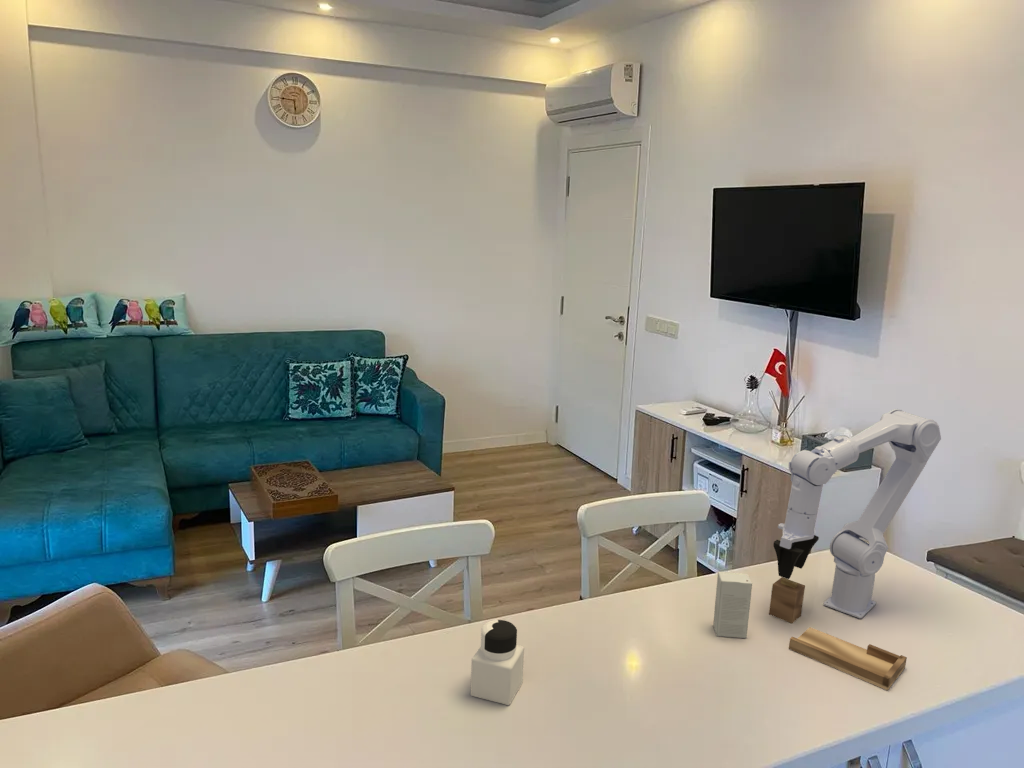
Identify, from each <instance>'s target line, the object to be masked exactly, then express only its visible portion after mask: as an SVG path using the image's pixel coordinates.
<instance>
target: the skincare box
mask: <svg viewBox="0 0 1024 768" xmlns="http://www.w3.org/2000/svg"><path fill="white" fill-rule="evenodd" d="M715 589H716V591H715V601H714V613H713V623H712V624H713V625H712V626H713V629H714V633H715V636H716V637H724V638H725V637H726V638H739V639H747V636H748V627H749V626H748V625H749V618H750V607H751V597H752V589H753V582H752V580H751V578H750V576H749V574H748V573H741V572H739V573H737V572H728V571H727V572H726V571H725V572H724V571H718V572H717V580H716V588H715Z"/></svg>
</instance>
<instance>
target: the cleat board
mask: <svg viewBox="0 0 1024 768" xmlns="http://www.w3.org/2000/svg"><path fill="white" fill-rule="evenodd" d="M788 650H791V651H793V652H795V653H798V654H800V655H802V656H805V657H807V658H809V659H812V660H814V661H817V662H820V663H821V664H824V665H826V666H828V667H831V668H833V669H836V670H837V671H838V670H839V671H841V672H842V673H845V674H848V675H850V676H852V677H855V678H857V679H860V680H862V681H864V682H867V683H869V684H871V685H872V686H873V685H874V686H876V687H878V688H881V689H883V690H886V691H889V689H890V688H891V687H892V685H893V684H895V681H896V680H897V679H898V677H899V676H900V675H901V674H902V672H903V671H904V670H905V668H906V664H907V658H908V657H907V656H904V655H898V654H896V653H895V652H891V651H888V650H886V649H884V648H881V647H878V646H875V645H872V644H870V643H869V644H868V645H867V647H866V648H864V647H862V646H859V645H856V644H854V643H851V642H848V641H847V640H843V639H841V638H838V637H836V636H834V635H832V634H829V633H826V632H823V631H821V630H819V629H816V628H814V627H812V626H810V627H808V628H807V629H806V630H805V631H804V632H803V633H802V634H801V635H800V636H799V637H797V638H796V637H794V636H791V637H789V645H788Z"/></svg>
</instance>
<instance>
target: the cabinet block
mask: <svg viewBox="0 0 1024 768" xmlns="http://www.w3.org/2000/svg"><path fill="white" fill-rule="evenodd" d="M805 590H806V585H804V584H802V583H799V582H796V581H793V580H791V579H790V578H789V579H786V578H783V577H781V576H780V578H779V579H777V580H776V581H775V582H773V583H772V588H771V593H770V594H771V595H770V604H769V611H768V615H769V616H772V617H774V618H777V619H779V620H782V621H784V622H787V623H789V624H794V623H795V622H796V621H797V620H798V619H799V618H801V617H802V612H803V605H804V597H805Z"/></svg>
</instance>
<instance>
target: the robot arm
mask: <svg viewBox="0 0 1024 768" xmlns="http://www.w3.org/2000/svg"><path fill="white" fill-rule="evenodd" d="M941 440H942V435H941V431H940V425H939V424H938V422H937V421H936V420H934V419H929V418H926V417H922V416H919V415H915V414H912V413H909V412H906V411H904V410H902V409H898V408H897V409H896V408H895V409H891V410H890V411H889V412H886V413H883V414H882V415H881V416H880V419H879V421H878V422H875V423H873V424H872V425H871V426H869V427H867V428H866V429H864V430H862V431H860V432H858V433H857V434H855V435H853V436H851V437H847V436H845V435H842V436H840V435H836V436H834V437H833V439H832V440H830V441H827V442H826V443H824V444H822V445H820V446H819V445H818V446H816V447H814V449H812V450H807V449H803V450H800V451H798V452H797V453H795V454H794V455H793V456H792V458H791V460H790V461H788V470H789V472H790V481H791V487H790V494H789V497H788V503H787V509H786V513H785V519H784V523H782V522H781V523H778V524H777V528H778V529H779V530H782V531H781V532H782V536H781V537H780V539H776V540H774V541H773V549H774V551H775V554H776V558H777V560H776V561H777V571H778V576H779V577H780V578H781V577H783V578H786V579H789V580H790V578H791V576H792V575H793V572H794V570H795V568H797V569H801V570H802V569H803V567H804V566H805V563H806V562H807V559H808V557H809V555H810V553H811V552H812V551H811V550H812V548H814V546H815V545H816V544H817V542H818V541H819V539H820V537H819V536H817V535H816V534H815V527H816V522H817V517H818V511H819V506H820V502H821V497H822V491H823V487H824V485H826V484H827V483H829V481H830V480H831V478H832V476H834V475H835V474H836V472H838V471H839V470H841V469H843V468H845V467H848V466H849V465H851V464H853V463H855V462H857V461H858V459H859V457H860V453H863V452H866V451H868V450H871V449H873V448H876V447H878V446H881V445H884V444H886V443H888V444H889V446H890V447H891V449H892V450H893V451H894V455H895V460H894V461H893V463H892V465H891V466H890V467H889V469H888V471H887V473H886V474H885V476H884V478H883V480H882V481H881V482H880V484H879V486H878V488H877V489H876V491H875V492H874V493H873V496H872V497H871V498H870V500H869V502H868V504H867V505H866V507H865V509H864V510H863V512H862V513H861V515H860V517H859V518H858V520H855V521H851V522H848V523H845V524H844V526H843V527H842V528H841V530H839V532H837V533H836V534H835V535H834V536H833V537H832V538H831V540H830V543H829V553H830V554H831V556H832V557H833V562H834V563H835V567H834V574H833V581H832V589H831V595H830V596H829V597H828V598H827V599H826V600H824V601H823V606H825V607H828V608H830V609H833V610H836V611H838V612H841V613H844V614H846V615H849V616H853V617H854V618H857V619H862V618H864V617H865V616H866V615H867V614H868V613H869V612H870V610H872V609H873V608H874V607H875V605H876V604H877V602H876V600H872V599H873V594H874V593H873V591H874V585H875V579H876V573H878V572H879V571H880V569H881V568H882V566H883V564H884V560H885V556H886V554H887V551H889V546H888V543H887V542H886V539H885V536H884V534H885V532H886V531H887V529H888V527H889V526H890V524H891V522H892V521H893V519H894V517H895V516H896V514H897V513H898V511H899V510H900V508H901V506H902V504H903V502H904V501H905V499H906V498H907V496H908V494H910V491H911V489H912V488H913V486H914V485H915V483H916V481H917V480H918V479H919V477H920V475H921V473H922V472H923V470H924V469H925V467H926V466H927V464H928V461H929V460H930V458H931V456H932V455H933V453H934V451H935V450H936V448H937V446H938V445H939V443H940V442H941ZM863 539H864V540H863ZM867 541H868V542H867Z"/></svg>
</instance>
